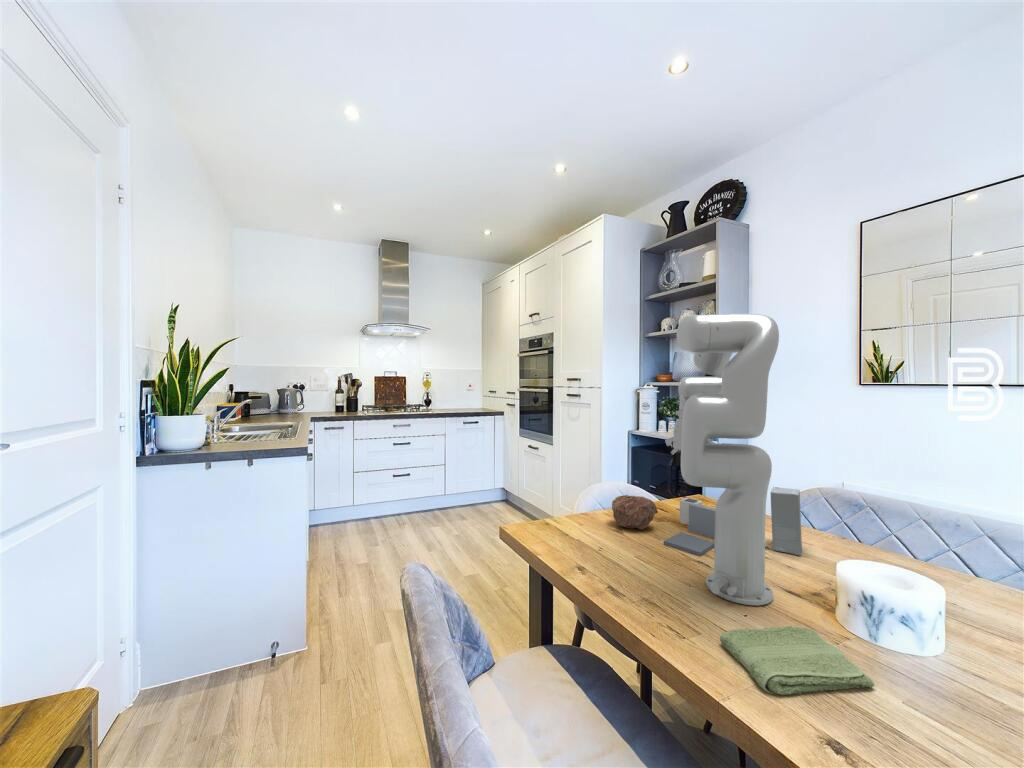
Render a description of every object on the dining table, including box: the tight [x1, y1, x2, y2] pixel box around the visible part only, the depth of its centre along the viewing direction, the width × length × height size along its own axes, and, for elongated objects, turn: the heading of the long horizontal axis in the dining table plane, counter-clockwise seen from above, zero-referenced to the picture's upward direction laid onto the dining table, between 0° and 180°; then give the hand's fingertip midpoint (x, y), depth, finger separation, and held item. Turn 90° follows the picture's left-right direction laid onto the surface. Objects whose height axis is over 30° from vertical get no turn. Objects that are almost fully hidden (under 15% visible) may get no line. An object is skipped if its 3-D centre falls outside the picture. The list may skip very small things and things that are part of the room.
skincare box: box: [770, 486, 803, 557], centre depth 111 cm, size 8×7×16 cm
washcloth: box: [719, 625, 876, 696], centre depth 65 cm, size 13×18×3 cm
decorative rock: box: [611, 494, 659, 531], centre depth 126 cm, size 13×11×10 cm
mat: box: [663, 531, 715, 557], centre depth 112 cm, size 10×10×1 cm
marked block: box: [679, 497, 703, 526], centre depth 130 cm, size 5×5×7 cm
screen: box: [688, 504, 715, 540], centre depth 118 cm, size 2×13×8 cm, turn 42°
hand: (691, 469), depth 130 cm, fingers open, 9 cm apart
